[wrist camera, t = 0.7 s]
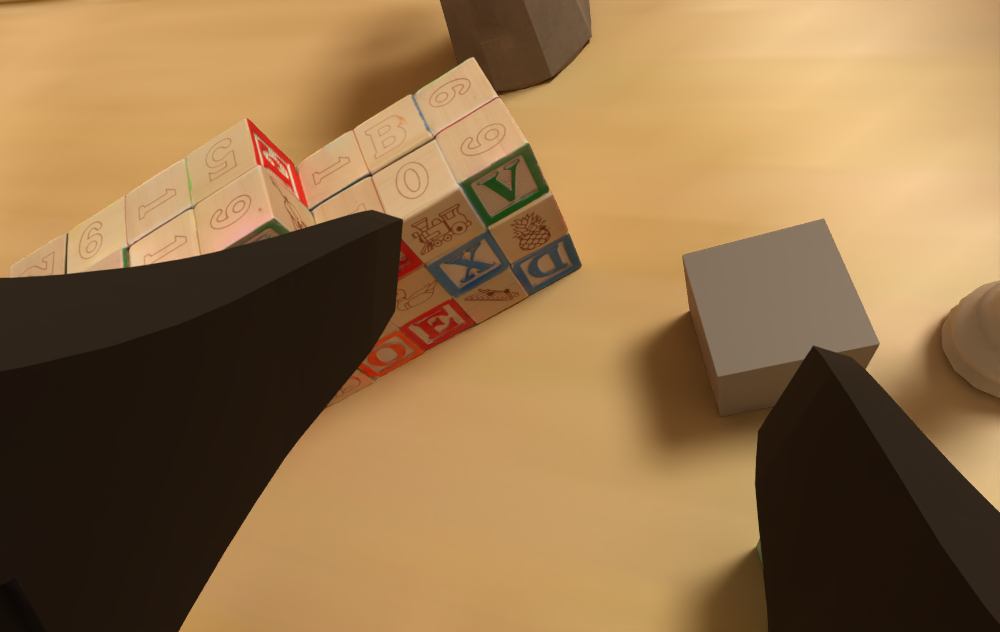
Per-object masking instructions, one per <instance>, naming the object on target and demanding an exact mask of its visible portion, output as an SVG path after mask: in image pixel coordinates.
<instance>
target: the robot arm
mask: <svg viewBox="0 0 1000 632" xmlns="http://www.w3.org/2000/svg"><path fill="white" fill-rule="evenodd" d="M402 228H403V219H401V218H398V217H394V216H391V215H388V214H385V213H381V212H378V211H375V210H368V211H362V212H358V213H354V214H350V215H346V216H343V217H339V218H336V219H333V220H329V221H326V222H323V223H319V224H316V225H313V226H309V227H306V228H302V229H299V230H296V231H292V232H289V233H286V234H282V235H279V236H275V237H272V238H268V239H264V240H260V241H256V242H252V243H248V244H244V245H240V246H237V247H233V248H229V249H225V250H221V251H217V252H212V253H208V254H203V255H198V256H193V257H188V258H183V259H178V260H172V261H166V262H160V263H154V264H148V265H141V266H134V267H126V268H117V269H107V270H98V271H89V272H79V273H70V274H61V275H47V276H30V277H13V278H0V632H178V631H179V630H180V628H181V626H182V624H183V622H184V621H185V619H186V617H187V615H188V613H189V612H190V610H191V608H192V607H193V605H194V603H195V601H196V600H197V598H198V596H199V595H200V593H201V591H202V590H203V588H204V586H205V584H206V583H207V581H208V579H209V578H210V576H211V574H212V573H213V571H214V569H215V567H216V566H217V564H218V562H219V561H220V559H221V557H222V556H223V554H224V552H225V551H226V549H227V547H228V546H229V544H230V543H231V541H232V539H233V538H234V536H235V535H236V533H237V531H238V530H239V528H240V527H241V525H242V523H243V522H244V520H245V519H246V517H247V515H248V514H249V512H250V511H251V509H252V507H253V506H254V504H255V503H256V501H257V500H258V498H259V497H260V495H261V494H262V492H263V491H264V489H265V488H266V486H267V484H268V483H269V481H270V480H271V478H272V477H273V475H274V474H275V472H276V471H277V469H278V468H279V466H280V465H281V463H282V462H283V460H284V459H285V457H286V456H287V455H288V453H289V452H290V451H291V449H292V448H293V447H294V445H295V444H296V443H297V441H298V440H299V439H300V437H301V436H302V435H303V434H304V433H305V431H306V430H307V429H308V428H309V427H310V425H311V424H312V423H313V422H314V421H315V419H316V418H317V417H318V416H319V414H320V413H321V412H322V411H323V410H324V408H325V407H326V406H327V405H328V404H329V402H330V401H331V400H332V399H333V398H334V396H335V395H336V394H337V393H338V392H339V390H340V389H341V388H342V387H343V386H344V384H345V383H346V382H347V381H348V379H349V378H350V377H351V376H352V375H353V373H354V372H355V371H356V370H357V368H358V367H359V366H360V365H361V364H362V362H363V361H364V360H365V359H366V357H367V356H368V355H369V353H370V352H371V351H372V349H373V348H374V346H375V344H376V343H377V341H378V340H379V338H380V336H381V335H382V333H383V331H384V330H385V328H386V326H387V325H388V323H389V321H390V319H391V318H392V316H393V314H394V313H395V309H396V298H397V286H398V274H399V263H400V251H401V239H402ZM755 488H756V500H757V511H758V522H759V533H760V543H761V553H762V562H763V572H764V582H765V592H766V602H767V613H768V632H1000V512H999V511H998V510H997V509H996V508H995V507H994V506H993V505H992V504H991V503H990V502H989V501H988V500H987V499H986V498H985V497H984V496H983V495H982V494H981V493H980V492H979V491H978V490H977V489H976V488H975V487H974V486H973V485H972V484H971V483H970V482H969V481H968V480H967V479H966V478H965V477H964V476H963V475H962V474H961V473H960V472H959V471H958V470H957V469H956V468H955V467H954V466H953V465H952V464H951V463H950V462H949V460H948V459H947V458H946V457H945V456H944V455H943V454H942V453H941V452H940V451H939V450H938V449H937V448H936V447H935V445H934V444H933V443H932V442H931V441H930V440H929V439H928V438H927V437H926V436H925V434H924V433H923V432H922V431H921V430H920V429H919V428H918V427H917V426H916V425H915V423H914V422H913V421H912V420H911V419H910V418H909V417H908V416H907V415H906V413H905V412H904V411H903V410H902V409H901V408H900V407H899V406H898V405H897V403H896V402H895V401H894V400H893V399H892V398H891V397H890V396H889V395H888V393H887V392H886V391H885V390H884V389H883V388H882V387H881V386H880V385H879V384H878V383H877V381H876V380H875V379H874V378H873V377H872V376H871V375H870V374H869V373H868V372H867V371H866V370H865V369H864V368H863V367H862V366H861V365H860V364H859V363H858V362H857V361H855V360H854V359H853V358H852V357H849V356H846V355H843V354H839V353H836V352H833V351H830V350H826V349H823V348H820V347H817V346H812V348H811V349H810V351H809V353H808V354H807V356H806V357H805V359H804V360H803V362H802V363H801V365H800V367H799V368H798V370H797V371H796V373H795V374H794V376H793V378H792V379H791V381H790V382H789V384H788V385H787V387H786V389H785V390H784V392H783V393H782V395H781V396H780V398H779V400H778V401H777V403H776V404H775V406H774V407H773V409H772V410H771V412H770V414H769V415H768V417H767V418H766V420H765V421H764V423H763V425H762V426H761V428H760V429H759V431H758V441H757V455H756V476H755Z"/></svg>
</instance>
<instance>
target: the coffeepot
mask: <svg viewBox="0 0 1000 632" xmlns="http://www.w3.org/2000/svg"><path fill="white" fill-rule="evenodd" d="M440 2H441V6H442V9H443V13H444V16H445V20H446V24H447V27H448V31H449V34H450V38H451V41H452V45H453V48H454V52H455V55H456V59H457V62H458V65H460V64H461V63H463V62H464V61H465V60H467V59H469V58H471V57H474V59H475V60H476V62H477V63H478V65H479V67H480V68H481V70H482V71H483V73H484V74H485V76H486V78H487V79H488V81H489V82H490V84H491V85H492V87H493V89H494V90H495V91H496V92H498V91H513V90H518V89H524V88H527V87H530V86H533V85H536V84H539V83H541V82H543V81H545V80H547V79H549V78H551V77H553V76H554V75H556V74H557V73H559V72H560V71H562V70H563V69H564V68H565V67H567V66H568V65H569V64H570V63H571V62H572V61H573V60H574V59H575V58H576V57H577V55H578V54H579V53H580V52H581V51H582V49H583V47H584V45H585V44H586V42H587V41H588V40H589V39H590V38H591V37H592V35H591V18H590V7H589V0H440Z"/></svg>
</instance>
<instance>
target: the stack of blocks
mask: <svg viewBox="0 0 1000 632" xmlns="http://www.w3.org/2000/svg"><path fill="white" fill-rule="evenodd" d="M368 210H375V211H378V212H381V213H385V214H388V215H391V216H394V217H398V218H401V219H403V228H402V239H401V251H400V263H399V274H398V286H397V298H396V309H395V313H394V314H393V316H392V318H391V319H390V321H389V323H388V325H387V326H386V328H385V330H384V331H383V333H382V335H381V336H380V338H379V340H378V341H377V343H376V344H375V346H374V348H373V349H372V351H371V352H370V353H369V355H368V356H367V357H366V359H365V360H364V361H363V362H362V364H361V365H360V366H359V367H358V368H357V370H356V371H355V372H354V373H353V375H352V376H351V377H350V378H349V379H348V381H347V382H346V383H345V384H344V386H343V387H342V388H341V389H340V390H339V392H338V393H337V394H336V395H335V396H334V398H333V399H332V400H331V401H330V402H329V404H328V405H327V406H326V407H325V408H327V407H328V406H331V405H333V404H335V403H337V402H339V401H341V400H343V399H345V398H346V397H348V396H350V395H352V394H354V393H356V392H357V391H359V390H361V389H363V388H365V387H366V386H368V385H370V384H372V383H373V382H375V381H376V379H377V378H379V377H380V376H383V375H385V374H387V373H388V372H389V371H391V370H393V369H395V368H396V367H399V366H401V365H403V364H404V363H406V362H408V361H410V360H412V359H413V358H415V357H417V356H419V355H421V354H422V353H424V351H425V350H427V349H430V348H432V347H433V346H435V345H437V344H439V343H441V342H443V341H445V340H447V339H448V338H450V337H452V336H454V335H455V334H457V333H459V332H461V331H463V330H464V329H466V328H468V327H470V326H471V325H473V324H474V323H481V322H482V321H484V320H486V319H488V318H490V317H491V316H493V315H495V314H497V313H499V312H500V311H502V310H504V309H506V308H508V307H510V306H512V305H513V304H515V303H517V302H519V301H521V300H523V299H524V298H526V297H527V296H528V295H530V294H532V293H535V292H537V291H539V290H540V289H542V288H544V287H546V286H548V285H550V284H552V283H553V282H555V281H556V280H558V279H560V278H562V277H564V276H566V275H567V274H569V273H571V272H573V271H575V270H576V269H578V268H579V267H581V266H582V265H581V261H580V259H579V256H578V254H577V252H576V249H575V247H574V244H573V242H572V239H571V237H570V234H569V233H568V228H567V226H566V224H565V221H564V219H563V216H562V214H561V212H560V210H559V207H558V205H557V203H556V200H555V198H554V196H553V194H552V192H551V190H550V189H549V186H548V184H547V182H546V179H545V177H544V175H543V173H542V171H541V169H540V166H539V164H538V162H537V160H536V158H535V155H534V153H533V151H532V149H531V147H530V145H529V143H528V141H527V140H526V138H525V136H524V135H523V133H522V131H521V130H520V128H519V127H518V125H517V124H516V122H515V120H514V119H513V117H512V116H511V114H510V113H509V111H508V109H507V108H506V106H505V105H504V103H503V101H502V100H501V98H499V97H498V95H497V94H496V92H495V90H494V89H493V87H492V85H491V84H490V82H489V81H488V79H487V78H486V76H485V74H484V73H483V71H482V70H481V68H480V67H479V65H478V63H477V62H476V60H475V59H474V57H471V58H469V59H467V60H465V61H464V62H463V63H461V64H460V65H458V66H456V67H455V68H453V69H452V70H450V71H448V72H447V73H445V74H444V75H442V76H440V77H439V78H437V79H435V80H434V81H432V82H430V83H429V84H427V85H426V86H424V87H422V88H421V89H419V90H418V91H417V92H416V93H415V95H412V94H410V95H407V96H405V97H404V98H402V99H401V100H399V101H397V102H396V103H394V104H392V105H391V106H389V107H387V108H386V109H384V110H383V111H381V112H379V113H378V114H376V115H374V116H373V117H371V118H370V119H368V120H366V121H365V122H363V123H361V124H360V125H358V126H357V127H356V128H355V129H354V130H352V131H349V132H346V133H344V134H343V135H341V136H340V137H338V138H337V139H335V140H333V141H332V142H330V143H328V144H327V145H325V146H324V147H322V148H321V149H319V150H318V151H316V152H315V153H313V154H311V155H310V156H308V157H307V158H305V159H304V160H303V161H302V162H301V163H300V164H299V165H298V167H297V168H295V167H294V164H293V163H292V161H291V160H290V159H289V158H288V157H287V156H286V155H285V154H284V153H283V152H282V151H280V150H279V149H278V148H277V147H276V146H275V145H274V144H273V143H272V142H271V141H270V140H269V139H268V138H267V137H266V135H264V134H263V133H262V132H261V131H260V130H259V129H258V128H257V127H256V126H255V125H254V124H253V123H252V122H251V121H250V120H249V119H247V118H245V119H243V120H242V121H240V122H238V123H237V124H235V125H234V126H232V127H230V128H229V129H227V130H226V131H224V132H222V133H221V134H219V135H218V136H216V137H214V138H213V139H211V140H210V141H208V142H207V143H205V144H203V145H202V146H200V147H199V148H197V149H196V150H194V151H193V152H191V153H190V154H188V156H187V157H186V158H183V159H181V160H179V161H178V162H176V163H174V164H172V165H170V166H169V167H167V168H166V169H164V170H163V171H161V172H160V173H158V174H157V175H155V176H154V177H152V178H150V179H149V180H147V181H145V182H144V183H142V184H141V185H139V186H138V187H136V188H135V189H133V190H132V191H131V192H130V193H129V194H128V195H127V196H123V197H121V198H120V199H118V200H116V201H115V202H113V203H112V204H110V205H109V206H107V207H105V208H104V209H102V210H101V211H99V212H98V213H96V214H94V215H93V216H91V217H90V218H88V219H86V220H85V221H83V222H82V223H80V224H79V225H77V226H75V227H74V228H73V229H71V230H70V231H69V233H63V234H61V235H59V236H57V237H56V238H54V239H52V240H51V241H49V242H48V243H46V244H45V245H43V246H41V247H40V248H38V249H37V250H35V251H34V252H32V253H30V254H29V255H27V256H25V257H24V258H22V259H20V260H19V261H17V262H16V263H14V264H13V265H12V266H11V268H10V273H9V278H13V277H30V276H47V275H61V274H70V273H79V272H89V271H98V270H107V269H117V268H126V267H134V266H141V265H148V264H154V263H160V262H166V261H172V260H178V259H183V258H188V257H193V256H198V255H203V254H208V253H212V252H217V251H221V250H225V249H229V248H233V247H237V246H240V245H244V244H248V243H252V242H256V241H260V240H264V239H268V238H272V237H275V236H279V235H282V234H286V233H289V232H292V231H296V230H299V229H302V228H306V227H309V226H313V225H316V224H319V223H323V222H326V221H329V220H333V219H336V218H339V217H343V216H346V215H350V214H354V213H358V212H362V211H368ZM325 408H324V409H325Z"/></svg>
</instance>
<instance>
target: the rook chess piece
mask: <svg viewBox="0 0 1000 632" xmlns="http://www.w3.org/2000/svg"><path fill="white" fill-rule="evenodd" d="M941 329H942V349H943V351H944V353H945V355H946V357H947V358H948V360H949V362H950V364H951V366H952V367H953V369H954V370H955V371H956V372H957V373H958V374H959V375H961V376H962V377H963V378H964V379H965V380H966V381H968V382H969V383H970V384H971V385H972V386H974V387H975V388H977V389H979V390H981V391H984V392H986V393H989V394H991V395H993V396H996V397H998V398H1000V281H996V282H992V283H988V284H985V285H983V286H981V287H979V288H977V289H976V290H975V291H973V292H972V293H970V294H969V295H967V296H966V297H965V298H963V299H962V300H961V301H960V303H959V304H958V305H957V306H955V307H954V308H952V309H951V311H950V313H949V315H948V316H947V318H946V320H945V322H944V324H943V326H942V327H941Z"/></svg>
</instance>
